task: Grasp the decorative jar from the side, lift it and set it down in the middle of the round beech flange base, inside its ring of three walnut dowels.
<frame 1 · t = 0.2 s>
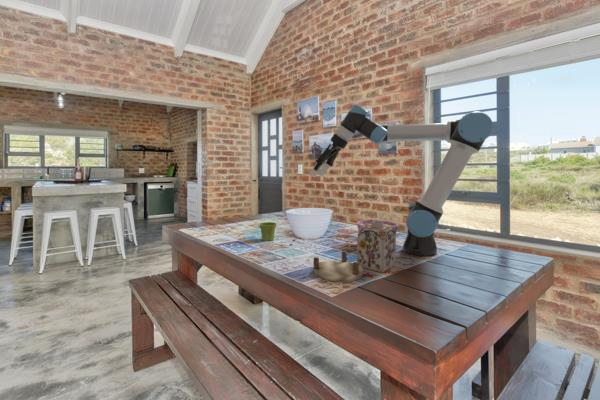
hand: (315, 175, 151), 35 cm above the table, tool tilted 35°, fingers open, 13 cm apart
plant pot: (267, 240, 171), on the table
decorative jar: (375, 266, 129), on the table
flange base: (338, 272, 120), on the table
bowl of food: (376, 246, 160), on the table
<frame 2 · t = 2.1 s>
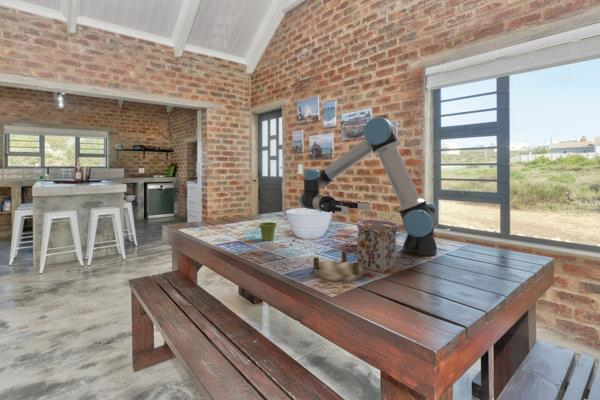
hand: (359, 209, 134), 22 cm above the table, tool horizontal, fingers open, 13 cm apart
nothing on the table moved.
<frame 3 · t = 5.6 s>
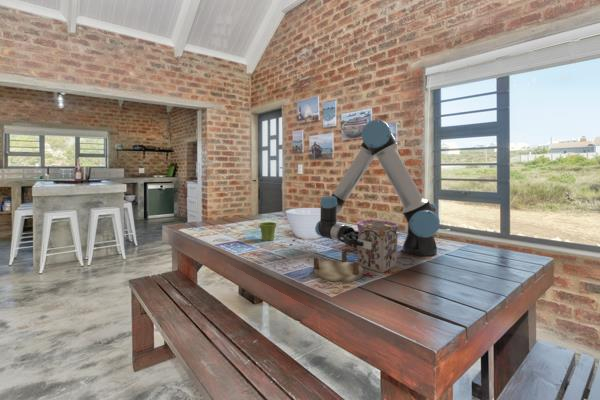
hand: (382, 243, 125), 10 cm above the table, tool horizontal, fingers open, 13 cm apart
nothing on the table moved.
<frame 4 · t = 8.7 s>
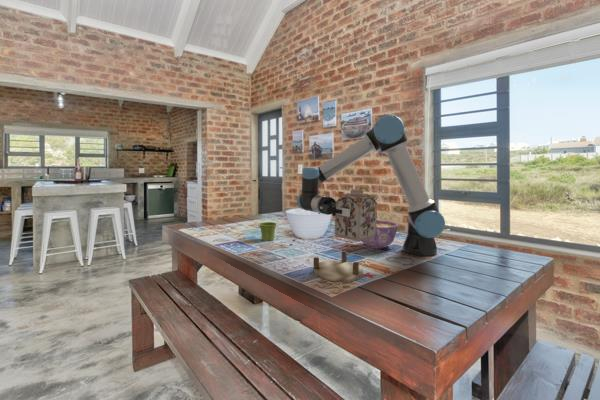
hand: (361, 211, 120), 23 cm above the table, tool horizontal, fingers closed on decorative jar, 12 cm apart
decorative jar: (354, 236, 124), point 13 cm above the table, touching gripper
everything else where it was.
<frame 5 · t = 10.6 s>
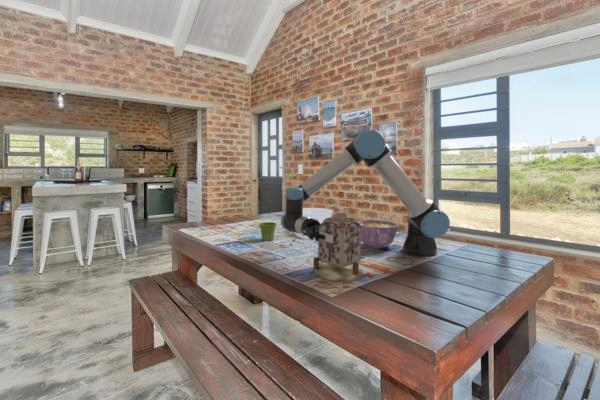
hand: (345, 236, 116), 15 cm above the table, tool horizontal, fingers closed on decorative jar, 12 cm apart
decorative jar: (338, 261, 120), point 4 cm above the table, touching gripper
everything else where it was.
when the fingers open (13 cm above the table, at t = 11.5 s): decorative jar drops 1 cm, point 2 cm above the table.
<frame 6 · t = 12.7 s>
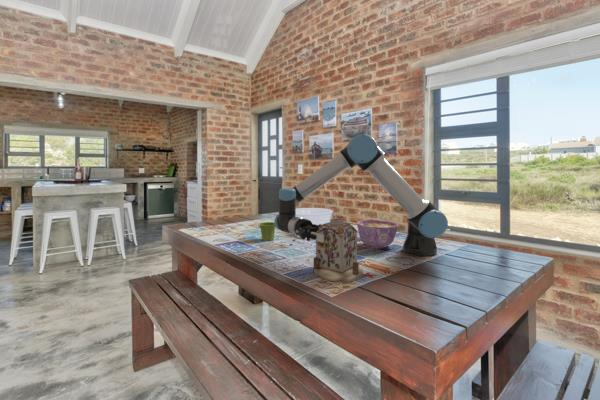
hand: (336, 236, 120), 14 cm above the table, tool horizontal, fingers open, 13 cm apart
decorative jar: (336, 266, 121), point 2 cm above the table, touching gripper
everything else where it was.
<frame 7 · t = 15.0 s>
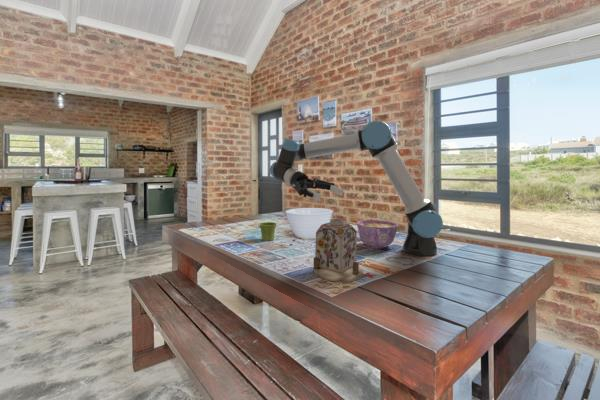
hand: (331, 195, 129), 28 cm above the table, tool tilted 75°, fingers open, 13 cm apart
decorative jar: (335, 266, 122), point 2 cm above the table, touching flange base
everything else where it was.
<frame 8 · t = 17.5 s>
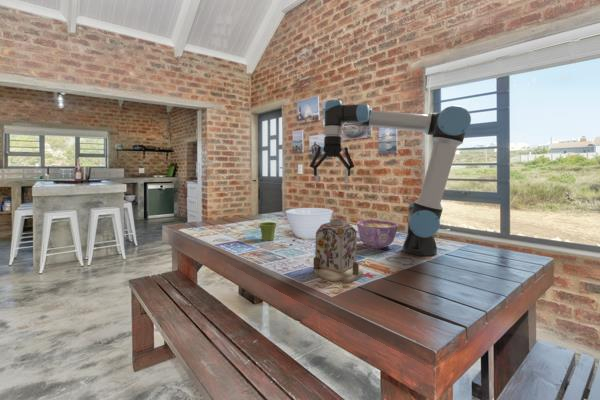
hand: (331, 183, 147), 32 cm above the table, tool pointing down, fingers open, 13 cm apart
nothing on the table moved.
at the end: decorative jar 1.8 cm from the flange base (horizontally); decorative jar tilted 0°; the gripper is holding nothing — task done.
